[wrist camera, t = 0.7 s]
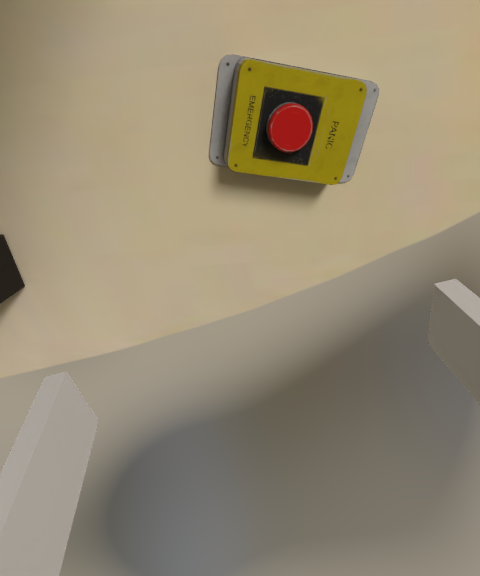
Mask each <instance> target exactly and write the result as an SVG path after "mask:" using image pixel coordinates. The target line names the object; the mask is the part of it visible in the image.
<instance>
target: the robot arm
mask: <svg viewBox="0 0 480 576" xmlns="http://www.w3.org/2000/svg"><path fill="white" fill-rule="evenodd" d="M428 344H429V345H430V346H431V347H432V348H433V349H434V351H435V352H436V353H437V354H438V355H439V357H440V358H441V359H442V360H443V361H444V363H445V364H446V365H447V366H448V367H449V369H450V370H451V371H452V372H453V373H454V374H455V375H456V377H457V378H458V379H459V380H460V382H461V383H462V384H463V385H464V386H465V388H466V389H467V390H468V391H469V392H470V394H471V395H472V396H473V397H474V398H475V399H476V401H477V402H478V403H479V404H480V298H478V297H477V296H476V295H475V294H474V293H473V292H471V291H470V290H469V289H468V288H466V287H465V286H464V285H463V284H462V283H460V282H459V281H458V280H457V279H453V280H449V281H444V282H440V283H436V284H434V289H433V299H432V308H431V317H430V327H429V336H428ZM98 422H99V419H98V418H97V416H96V415H95V413H94V412H93V410H92V409H91V407H90V406H89V405H88V403H87V402H86V400H85V399H84V397H83V396H82V394H81V393H80V391H79V390H78V388H77V387H76V385H75V384H74V382H73V381H72V379H71V378H70V376H69V375H68V374H67V372H62V373H58V374H54V375H50V376H45V378H44V380H43V382H42V384H41V387H40V389H39V391H38V393H37V395H36V397H35V399H34V402H33V404H32V406H31V408H30V410H29V412H28V415H27V417H26V419H25V421H24V423H23V425H22V427H21V430H20V432H19V434H18V436H17V438H16V440H15V442H14V445H13V447H12V449H11V451H10V453H9V455H8V458H7V460H6V462H5V464H4V466H3V468H2V470H1V473H0V576H59V573H60V569H61V565H62V562H63V558H64V554H65V550H66V546H67V542H68V538H69V534H70V530H71V527H72V523H73V519H74V515H75V511H76V507H77V504H78V499H79V496H80V492H81V488H82V484H83V480H84V476H85V473H86V469H87V465H88V461H89V457H90V453H91V449H92V445H93V442H94V438H95V434H96V430H97V426H98Z"/></svg>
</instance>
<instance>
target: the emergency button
mask: <svg viewBox="0 0 480 576" xmlns="http://www.w3.org/2000/svg"><path fill="white" fill-rule="evenodd" d="M378 95H379V88H378V86H377V84H375V83H373V82H372V81H367V80H362V79H357V78H352V77H346V76H341V75H336V74H331V73H326V72H321V71H316V70H311V69H305V68H300V67H295V66H290V65H285V64H280V63H275V62H269V61H264V60H259V59H254V58H249V57H244V56H239V55H226V56H225V57H223V58H222V59H221V61H220V64H219V70H218V79H217V88H216V97H215V106H214V115H213V124H212V133H211V143H210V152H209V155H210V160H211V161H212V162H213V163H214V164H216V165H219V166H225V167H229V169H231V170H233V171H235V172H241V173H248V174H255V175H263V176H270V177H277V178H285V179H292V180H299V181H307V182H314V183H321V184H329V185H334V184H337V183H338V182H340V183H342V182H347V181H349V180H350V179H351V178H352V176H353V175H354V172H355V168H356V165H357V162H358V159H359V156H360V153H361V149H362V146H363V143H364V140H365V137H366V134H367V130H368V127H369V124H370V121H371V118H372V115H373V111H374V108H375V105H376V102H377V99H378Z"/></svg>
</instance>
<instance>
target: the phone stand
mask: <svg viewBox="0 0 480 576" xmlns="http://www.w3.org/2000/svg"><path fill="white" fill-rule="evenodd" d="M24 286H25V285H24V282H23V280H22V278H21V275H20V273H19V271H18V268H17V266H16V263H15V261H14V259H13V256H12V254H11V252H10V249H9V247H8V245H7V242H6V240H5V237H4V235H0V303H2V302H3V301H5V300H6V299H7V298H9V297H10V296H12V295H13V294H14V293H16V292H17V291H18V290H20V289H21V288H23V287H24Z"/></svg>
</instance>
